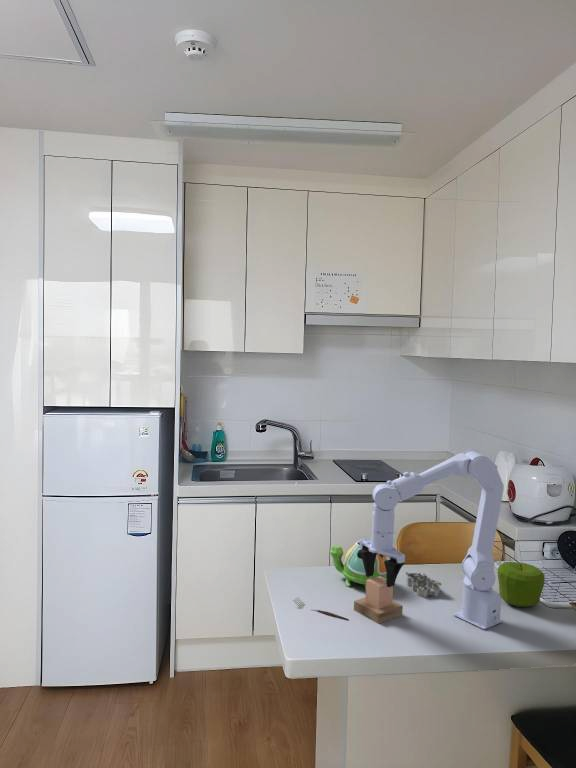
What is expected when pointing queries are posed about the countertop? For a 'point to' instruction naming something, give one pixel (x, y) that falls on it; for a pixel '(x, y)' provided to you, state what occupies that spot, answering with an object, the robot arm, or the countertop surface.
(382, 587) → the terracotta block
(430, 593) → the egg carton
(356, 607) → the walnut block
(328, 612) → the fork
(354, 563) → the turtle holder
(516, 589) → the apple
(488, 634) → the countertop surface
